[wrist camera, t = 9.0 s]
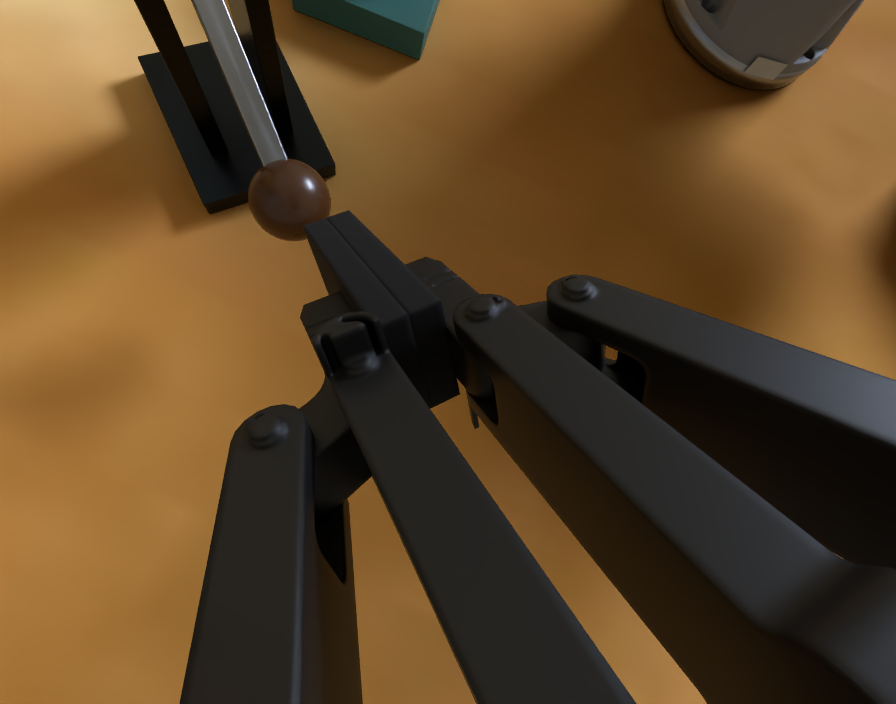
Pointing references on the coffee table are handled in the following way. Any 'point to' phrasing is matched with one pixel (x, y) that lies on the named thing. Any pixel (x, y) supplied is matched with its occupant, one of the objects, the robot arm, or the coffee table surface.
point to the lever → (264, 139)
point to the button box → (378, 20)
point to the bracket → (227, 103)
